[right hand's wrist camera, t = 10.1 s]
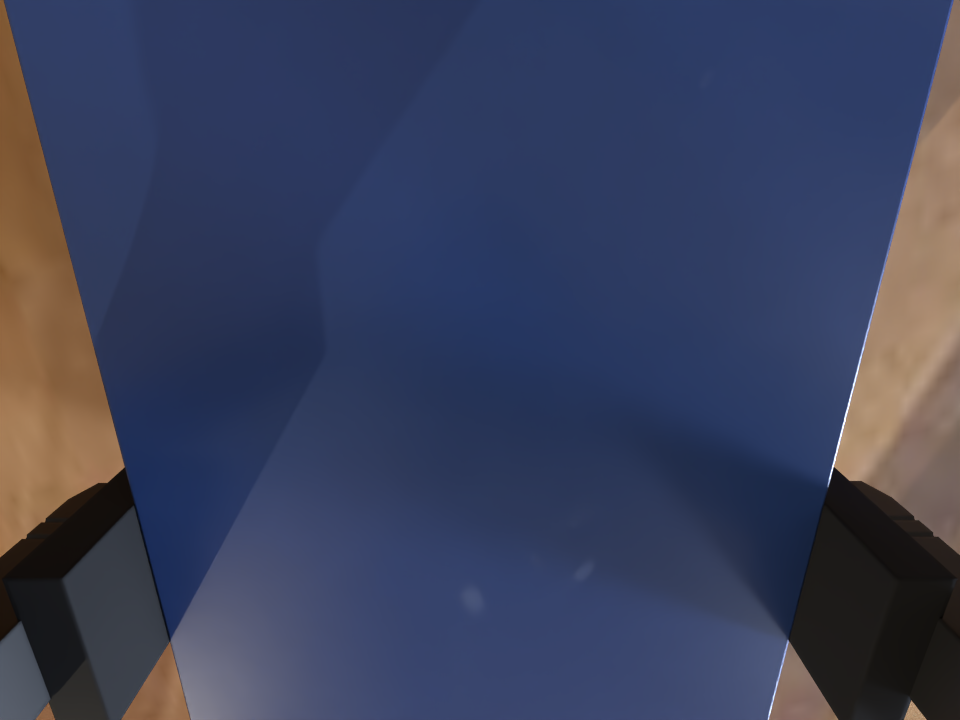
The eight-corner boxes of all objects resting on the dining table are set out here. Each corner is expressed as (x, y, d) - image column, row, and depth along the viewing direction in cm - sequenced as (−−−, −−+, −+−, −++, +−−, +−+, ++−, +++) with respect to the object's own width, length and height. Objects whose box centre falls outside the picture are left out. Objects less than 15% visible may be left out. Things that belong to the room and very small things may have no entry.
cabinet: (230, -215, 12) (-235, -898, 4) (726, -215, 12) (1188, -894, 4) (315, 484, 18) (193, 738, 10) (642, 484, 18) (766, 736, 10)
